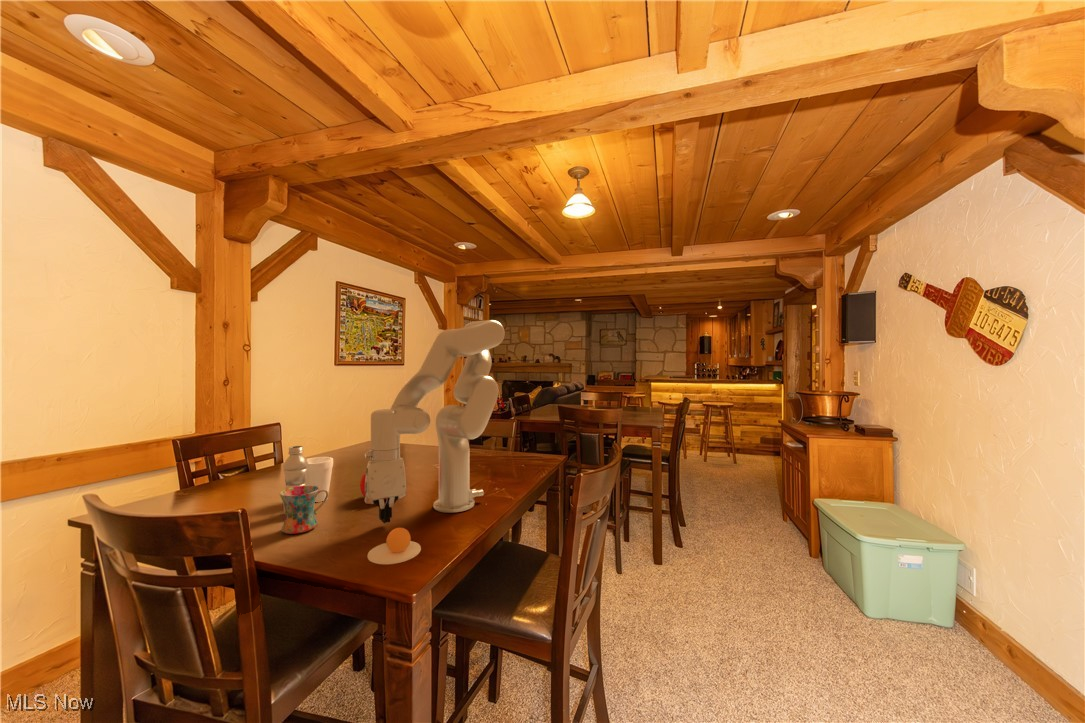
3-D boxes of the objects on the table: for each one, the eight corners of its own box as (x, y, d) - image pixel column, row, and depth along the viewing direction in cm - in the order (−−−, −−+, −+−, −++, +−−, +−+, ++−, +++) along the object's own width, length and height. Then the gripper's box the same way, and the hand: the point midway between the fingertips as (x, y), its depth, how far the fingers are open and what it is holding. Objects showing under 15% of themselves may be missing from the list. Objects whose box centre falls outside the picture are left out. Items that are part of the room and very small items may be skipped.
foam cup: (337, 499, 136) (337, 460, 136) (307, 506, 129) (307, 465, 129) (326, 493, 143) (326, 455, 143) (296, 500, 136) (296, 460, 136)
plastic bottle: (285, 520, 118) (285, 450, 118) (281, 513, 124) (281, 446, 124) (310, 515, 123) (310, 447, 123) (306, 508, 128) (306, 444, 128)
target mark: (411, 537, 107) (411, 536, 107) (428, 554, 97) (428, 553, 97) (361, 549, 100) (361, 548, 100) (374, 569, 90) (374, 568, 90)
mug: (287, 540, 106) (287, 498, 106) (274, 530, 111) (274, 491, 111) (335, 525, 115) (335, 487, 115) (320, 517, 121) (320, 481, 121)
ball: (405, 529, 104) (408, 521, 100) (411, 550, 101) (415, 543, 97) (382, 536, 101) (385, 528, 97) (388, 559, 98) (391, 551, 94)
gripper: (359, 461, 107) (359, 532, 107) (416, 453, 115) (416, 519, 115) (353, 455, 113) (353, 523, 113) (408, 448, 121) (408, 511, 121)
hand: (385, 521), depth 114 cm, fingers closed
